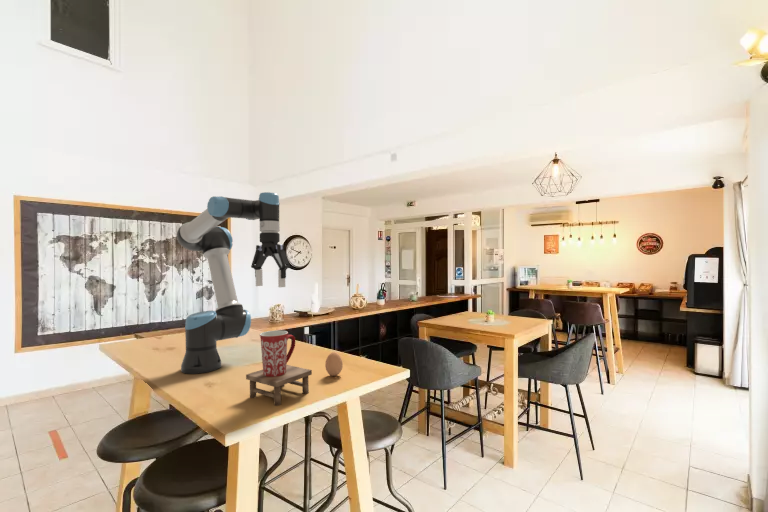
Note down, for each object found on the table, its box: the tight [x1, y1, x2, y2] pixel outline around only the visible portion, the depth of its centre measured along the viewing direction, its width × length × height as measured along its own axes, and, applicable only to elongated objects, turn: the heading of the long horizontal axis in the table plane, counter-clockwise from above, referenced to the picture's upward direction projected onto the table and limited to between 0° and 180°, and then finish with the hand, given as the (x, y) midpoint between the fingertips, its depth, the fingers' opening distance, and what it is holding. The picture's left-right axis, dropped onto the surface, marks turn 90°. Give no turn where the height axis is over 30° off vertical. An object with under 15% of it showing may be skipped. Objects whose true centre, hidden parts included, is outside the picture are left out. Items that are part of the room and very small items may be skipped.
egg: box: [325, 351, 344, 377], centre depth 146 cm, size 7×7×9 cm
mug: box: [259, 330, 296, 377], centre depth 126 cm, size 13×9×14 cm
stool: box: [245, 364, 313, 406], centre depth 126 cm, size 15×15×8 cm
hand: (270, 286), depth 148 cm, fingers open, 13 cm apart
